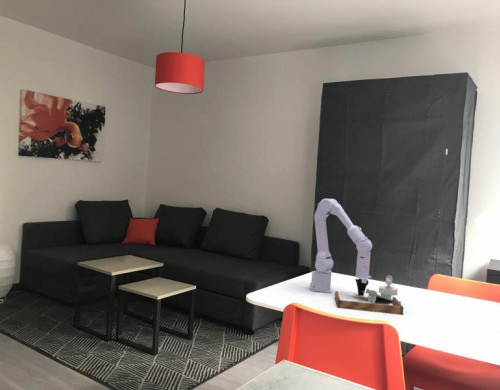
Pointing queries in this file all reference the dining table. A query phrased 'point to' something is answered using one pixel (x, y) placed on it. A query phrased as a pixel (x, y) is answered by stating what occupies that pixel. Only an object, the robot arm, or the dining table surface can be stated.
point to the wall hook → (388, 287)
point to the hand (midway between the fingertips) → (360, 295)
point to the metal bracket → (373, 295)
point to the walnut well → (370, 305)
